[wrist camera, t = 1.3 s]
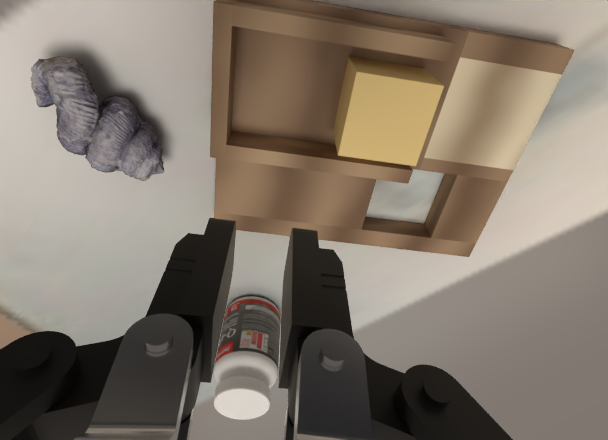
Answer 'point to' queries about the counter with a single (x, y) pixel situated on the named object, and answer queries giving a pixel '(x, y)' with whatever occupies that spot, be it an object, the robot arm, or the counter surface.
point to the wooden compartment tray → (436, 150)
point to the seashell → (96, 121)
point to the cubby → (311, 27)
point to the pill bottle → (247, 358)
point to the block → (385, 111)
